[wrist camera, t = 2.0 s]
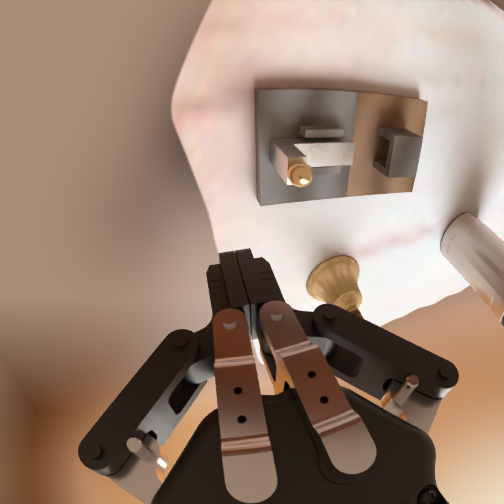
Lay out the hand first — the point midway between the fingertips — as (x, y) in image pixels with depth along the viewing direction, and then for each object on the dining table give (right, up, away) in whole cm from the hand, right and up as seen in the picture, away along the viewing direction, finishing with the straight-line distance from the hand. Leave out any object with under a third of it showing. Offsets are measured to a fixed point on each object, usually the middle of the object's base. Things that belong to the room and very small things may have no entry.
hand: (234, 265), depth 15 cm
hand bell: (+13, -3, +28) cm, 31 cm away
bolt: (+6, +11, +14) cm, 19 cm away
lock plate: (+11, +13, +16) cm, 23 cm away
